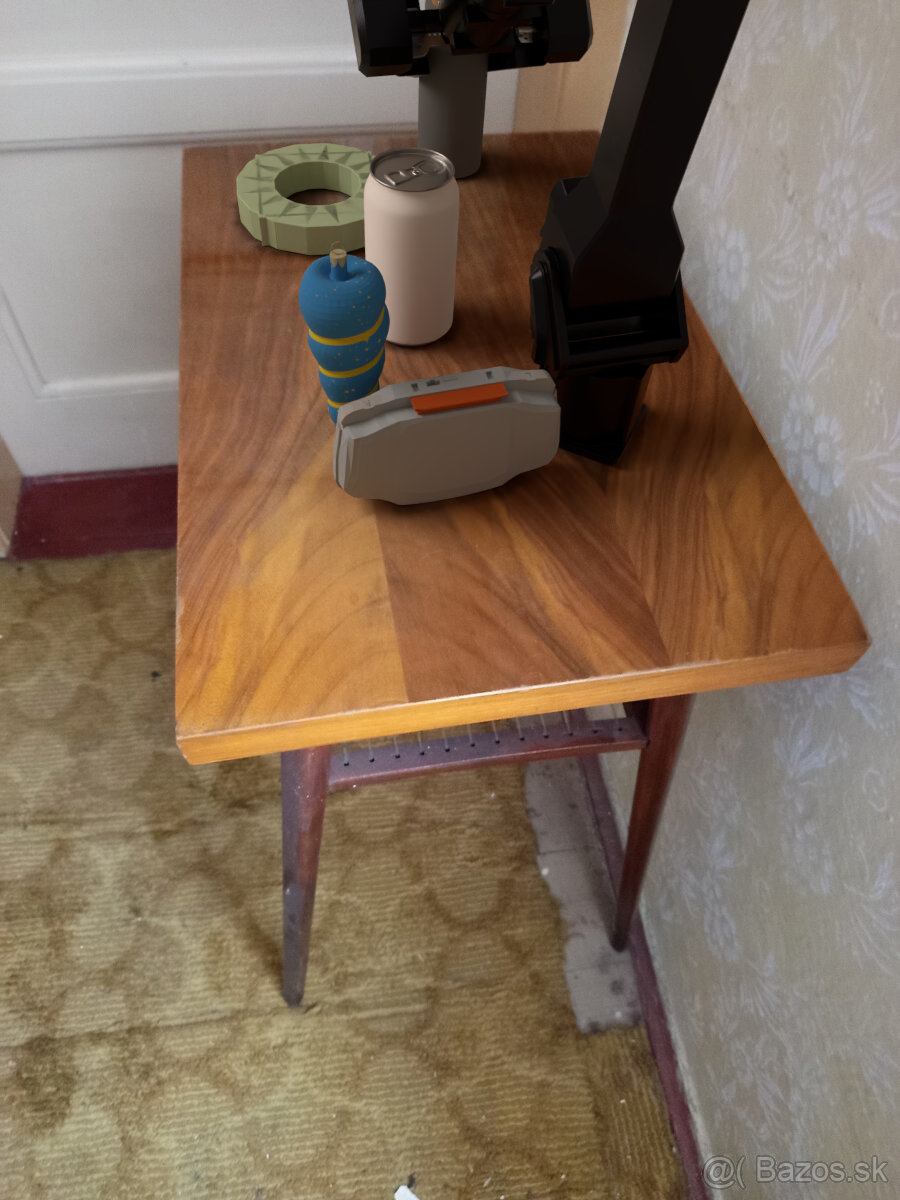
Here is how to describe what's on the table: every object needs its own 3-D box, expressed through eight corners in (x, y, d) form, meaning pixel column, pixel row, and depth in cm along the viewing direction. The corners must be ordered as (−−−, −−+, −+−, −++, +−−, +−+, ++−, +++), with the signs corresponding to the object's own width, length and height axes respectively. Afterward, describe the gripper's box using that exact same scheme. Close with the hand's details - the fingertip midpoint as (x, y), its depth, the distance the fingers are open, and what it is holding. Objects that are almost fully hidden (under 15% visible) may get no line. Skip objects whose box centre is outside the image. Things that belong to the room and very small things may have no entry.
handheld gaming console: (542, 450, 62) (559, 353, 55) (558, 480, 60) (577, 384, 54) (332, 488, 59) (324, 390, 52) (342, 521, 57) (335, 424, 51)
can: (469, 331, 69) (480, 177, 60) (396, 359, 67) (396, 203, 57) (422, 288, 72) (426, 134, 63) (351, 313, 70) (344, 158, 60)
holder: (387, 168, 83) (387, 140, 81) (406, 251, 75) (406, 222, 73) (239, 173, 81) (235, 145, 80) (242, 258, 74) (237, 229, 72)
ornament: (396, 472, 60) (395, 267, 48) (316, 479, 59) (296, 272, 47) (386, 419, 63) (383, 214, 51) (310, 425, 62) (290, 218, 50)
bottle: (474, 183, 82) (487, -5, 70) (410, 174, 83) (413, -15, 71) (485, 152, 86) (500, -32, 74) (424, 143, 86) (429, -42, 74)
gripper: (607, -161, 65) (537, -38, 80) (346, -154, 61) (325, -27, 76) (627, 9, 66) (555, 98, 81) (374, 25, 63) (348, 115, 78)
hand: (448, 68), depth 79 cm, fingers closed on bottle, 6 cm apart
